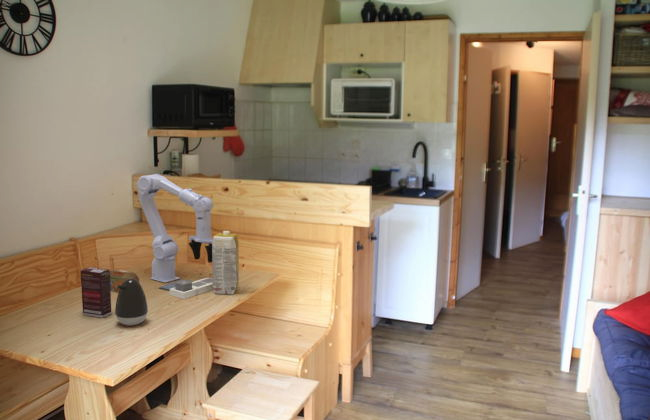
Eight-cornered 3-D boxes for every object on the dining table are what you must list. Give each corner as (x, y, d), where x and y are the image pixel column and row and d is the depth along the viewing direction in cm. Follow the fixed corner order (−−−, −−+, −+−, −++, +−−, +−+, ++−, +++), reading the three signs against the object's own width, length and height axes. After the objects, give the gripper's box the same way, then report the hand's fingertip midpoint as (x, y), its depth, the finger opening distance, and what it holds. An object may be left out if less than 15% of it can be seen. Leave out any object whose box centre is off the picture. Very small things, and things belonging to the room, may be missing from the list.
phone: (158, 290, 225) (158, 287, 225) (182, 281, 237) (182, 278, 237) (171, 292, 222) (171, 290, 222) (195, 283, 234) (195, 281, 234)
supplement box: (112, 313, 197) (110, 269, 194) (102, 318, 192) (100, 272, 189) (91, 310, 199) (89, 266, 197) (81, 314, 195) (79, 269, 192)
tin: (104, 290, 222) (103, 269, 220) (110, 288, 225) (109, 267, 223) (135, 295, 216) (135, 274, 215) (141, 293, 219) (140, 272, 218)
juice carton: (240, 289, 226) (239, 230, 222) (234, 295, 219) (234, 234, 215) (217, 288, 227) (216, 229, 223) (211, 294, 220) (210, 233, 216)
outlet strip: (169, 295, 218) (169, 287, 217) (214, 280, 237) (214, 273, 237) (183, 299, 213) (183, 291, 213) (228, 284, 233) (228, 277, 232)
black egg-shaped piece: (108, 325, 186) (106, 280, 184) (132, 315, 195) (131, 272, 193) (131, 331, 182) (129, 285, 179) (154, 321, 191) (153, 277, 188)
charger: (175, 295, 218) (175, 282, 217) (184, 292, 221) (183, 279, 220) (183, 297, 215) (183, 284, 214) (192, 294, 219) (192, 282, 218)
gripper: (183, 226, 229) (183, 259, 231) (209, 231, 221) (209, 265, 223) (196, 224, 235) (196, 256, 237) (222, 228, 227) (222, 261, 229)
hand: (203, 260), depth 231 cm, fingers open, 7 cm apart
